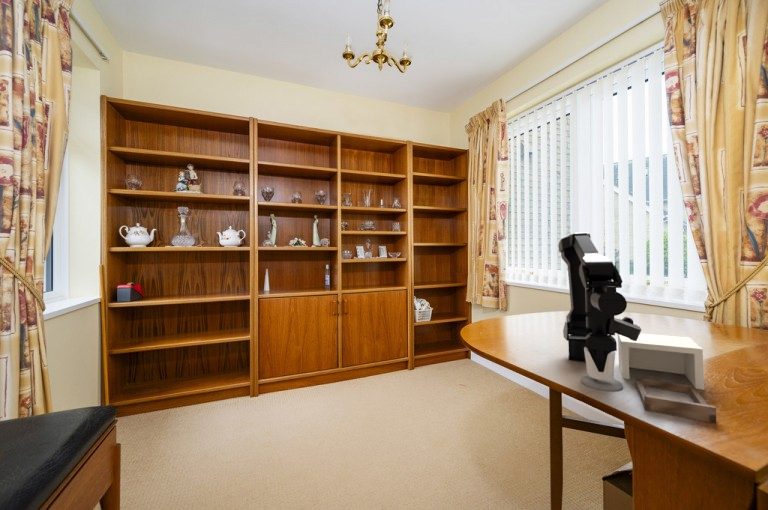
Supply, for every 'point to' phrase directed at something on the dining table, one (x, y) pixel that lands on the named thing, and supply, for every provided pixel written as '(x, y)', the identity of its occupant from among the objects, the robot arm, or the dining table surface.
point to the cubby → (662, 356)
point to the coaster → (602, 384)
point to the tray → (676, 401)
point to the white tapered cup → (594, 371)
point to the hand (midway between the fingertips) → (600, 367)
